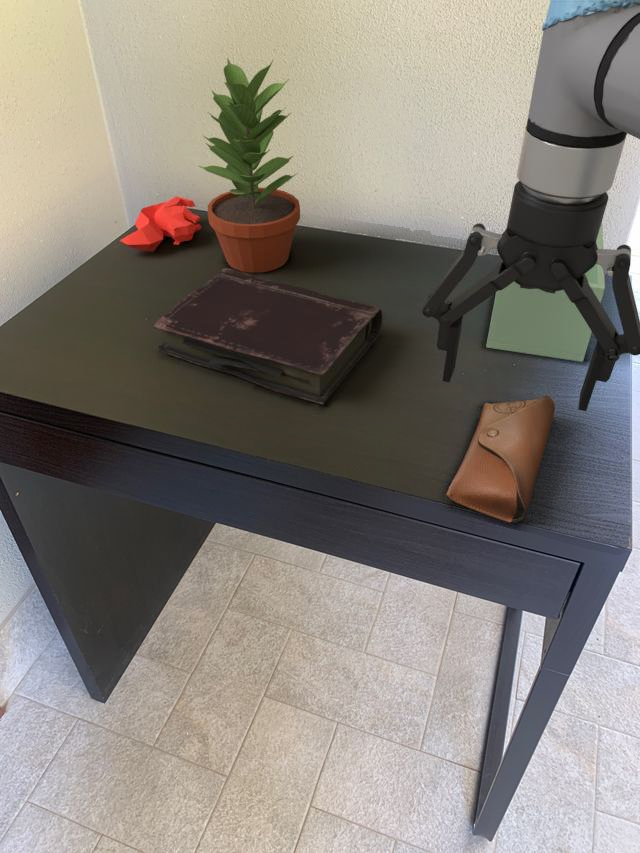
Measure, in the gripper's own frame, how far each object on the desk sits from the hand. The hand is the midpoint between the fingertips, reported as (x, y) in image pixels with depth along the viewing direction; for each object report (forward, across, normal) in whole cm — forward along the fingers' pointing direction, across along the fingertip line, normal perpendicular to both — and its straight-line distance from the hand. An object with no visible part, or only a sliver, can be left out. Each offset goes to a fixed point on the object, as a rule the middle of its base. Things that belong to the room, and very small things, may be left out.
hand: (514, 388), depth 70 cm
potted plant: (+11, +45, -34) cm, 57 cm away
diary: (+10, +33, -12) cm, 36 cm away
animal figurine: (+11, +62, -35) cm, 72 cm away
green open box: (+10, -1, -32) cm, 34 cm away
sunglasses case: (+10, 0, 0) cm, 10 cm away
